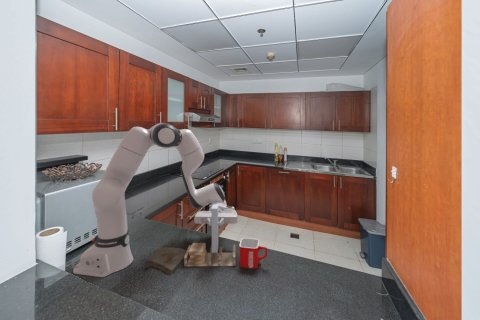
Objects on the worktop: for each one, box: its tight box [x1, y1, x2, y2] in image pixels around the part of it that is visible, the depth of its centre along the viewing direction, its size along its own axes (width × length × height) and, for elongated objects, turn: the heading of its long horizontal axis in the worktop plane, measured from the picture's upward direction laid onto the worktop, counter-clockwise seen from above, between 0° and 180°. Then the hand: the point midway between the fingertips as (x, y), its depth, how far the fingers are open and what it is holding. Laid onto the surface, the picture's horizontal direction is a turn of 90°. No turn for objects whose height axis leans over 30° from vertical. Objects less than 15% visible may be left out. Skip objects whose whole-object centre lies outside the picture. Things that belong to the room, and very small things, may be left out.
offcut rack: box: [183, 244, 236, 267], centre depth 94 cm, size 22×10×6 cm, turn 92°
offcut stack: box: [188, 242, 208, 265], centre depth 93 cm, size 7×8×6 cm
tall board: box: [211, 204, 219, 253], centre depth 92 cm, size 2×6×20 cm, turn 2°
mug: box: [239, 237, 268, 269], centre depth 91 cm, size 12×8×11 cm
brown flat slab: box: [145, 246, 187, 276], centre depth 92 cm, size 17×15×4 cm
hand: (214, 224), depth 91 cm, fingers closed on tall board, 2 cm apart
